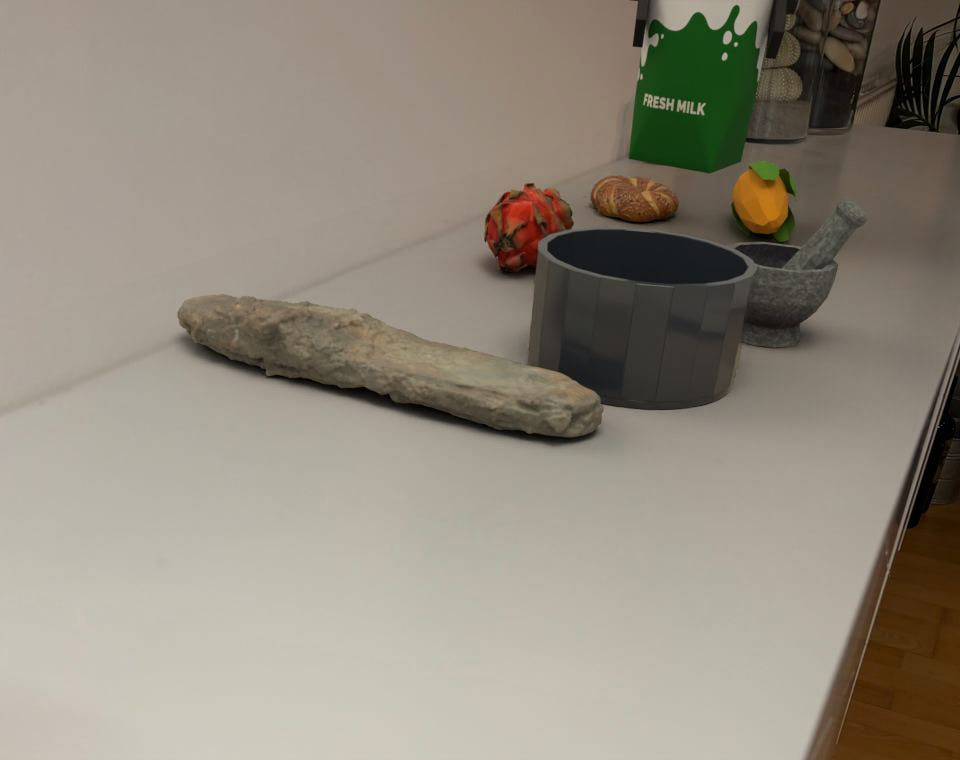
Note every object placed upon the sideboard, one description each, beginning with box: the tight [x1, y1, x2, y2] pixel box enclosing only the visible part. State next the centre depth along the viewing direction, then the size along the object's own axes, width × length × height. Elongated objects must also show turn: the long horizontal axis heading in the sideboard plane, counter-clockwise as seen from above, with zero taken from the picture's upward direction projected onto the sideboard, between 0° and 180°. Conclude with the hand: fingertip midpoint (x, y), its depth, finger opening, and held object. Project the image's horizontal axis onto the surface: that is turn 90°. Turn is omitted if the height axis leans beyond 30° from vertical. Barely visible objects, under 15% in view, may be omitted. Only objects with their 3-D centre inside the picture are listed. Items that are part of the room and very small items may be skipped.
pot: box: [527, 226, 758, 410], centre depth 84 cm, size 16×16×9 cm
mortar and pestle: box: [726, 198, 868, 349], centre depth 93 cm, size 11×9×12 cm
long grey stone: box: [177, 293, 605, 438], centre depth 79 cm, size 35×5×10 cm
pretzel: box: [590, 175, 680, 223], centre depth 133 cm, size 12×11×4 cm
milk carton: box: [628, 0, 774, 175], centre depth 82 cm, size 9×9×20 cm
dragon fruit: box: [483, 182, 575, 273], centre depth 107 cm, size 8×8×12 cm
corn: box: [730, 160, 797, 243], centre depth 126 cm, size 7×8×20 cm
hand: (706, 39), depth 80 cm, fingers closed on milk carton, 9 cm apart
